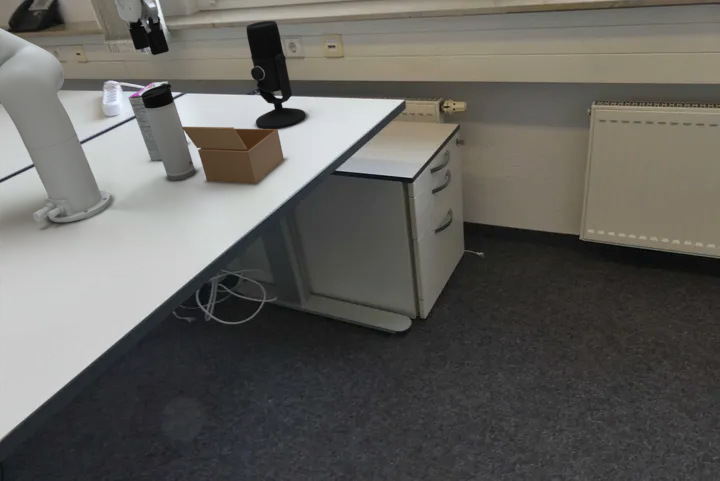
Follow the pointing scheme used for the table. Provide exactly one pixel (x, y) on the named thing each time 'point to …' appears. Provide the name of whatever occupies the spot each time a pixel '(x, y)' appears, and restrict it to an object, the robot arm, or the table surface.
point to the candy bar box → (146, 121)
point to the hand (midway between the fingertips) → (152, 50)
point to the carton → (244, 158)
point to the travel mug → (168, 132)
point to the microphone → (271, 75)
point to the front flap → (215, 137)
